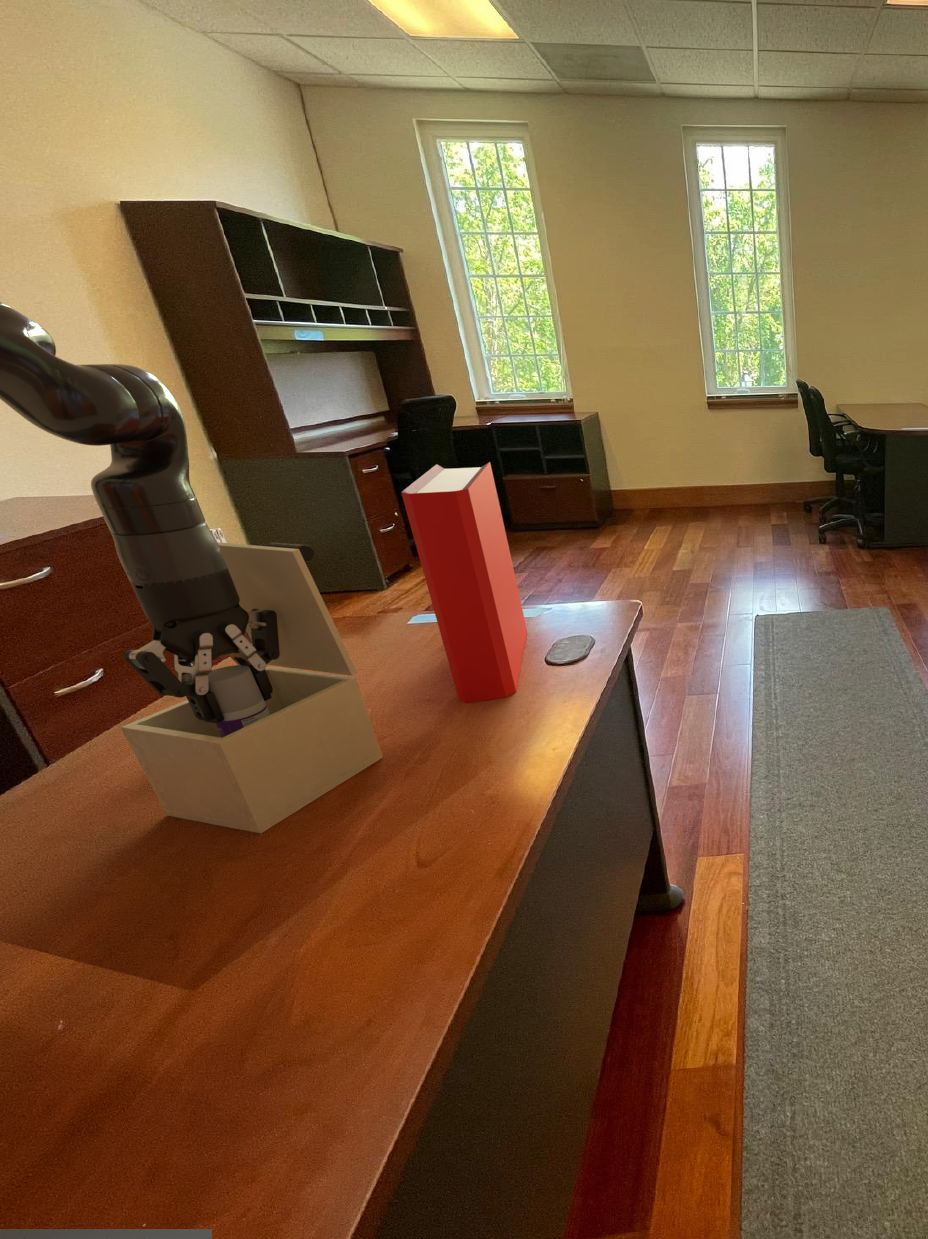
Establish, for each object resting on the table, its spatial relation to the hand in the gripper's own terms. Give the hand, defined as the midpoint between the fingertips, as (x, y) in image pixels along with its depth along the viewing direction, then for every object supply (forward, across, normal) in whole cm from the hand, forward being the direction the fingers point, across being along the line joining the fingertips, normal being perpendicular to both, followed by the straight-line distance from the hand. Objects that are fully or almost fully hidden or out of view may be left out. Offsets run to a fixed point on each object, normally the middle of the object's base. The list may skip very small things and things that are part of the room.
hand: (238, 709), depth 77 cm
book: (+11, -37, +1) cm, 39 cm away
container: (+11, 0, 0) cm, 11 cm away
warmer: (+11, -1, 0) cm, 11 cm away
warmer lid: (-9, -8, 0) cm, 12 cm away
